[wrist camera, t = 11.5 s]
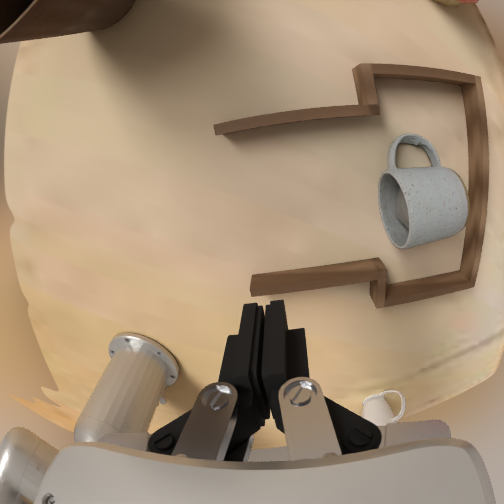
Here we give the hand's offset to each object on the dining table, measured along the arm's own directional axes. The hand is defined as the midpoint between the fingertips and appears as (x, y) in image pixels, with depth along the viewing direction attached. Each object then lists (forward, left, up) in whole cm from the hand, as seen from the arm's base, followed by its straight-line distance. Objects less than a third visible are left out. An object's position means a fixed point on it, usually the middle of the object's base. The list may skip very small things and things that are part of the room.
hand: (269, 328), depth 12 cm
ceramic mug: (+1, -15, -19) cm, 24 cm away
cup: (-37, -14, -19) cm, 44 cm away
